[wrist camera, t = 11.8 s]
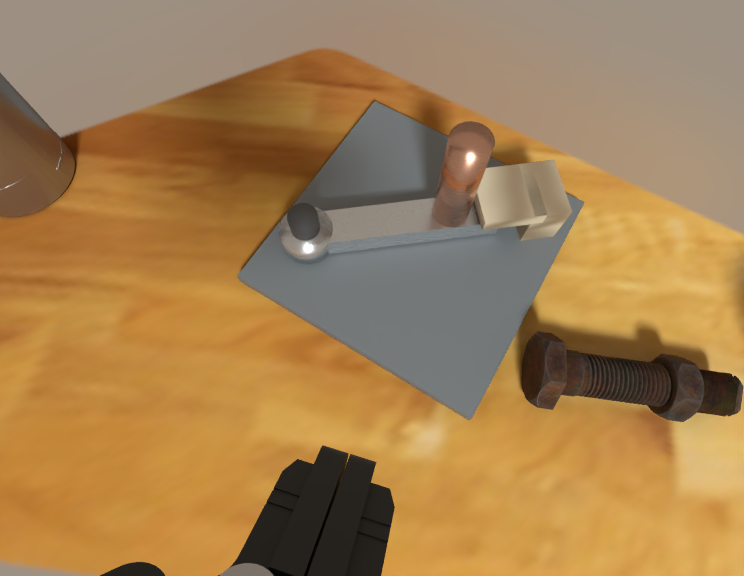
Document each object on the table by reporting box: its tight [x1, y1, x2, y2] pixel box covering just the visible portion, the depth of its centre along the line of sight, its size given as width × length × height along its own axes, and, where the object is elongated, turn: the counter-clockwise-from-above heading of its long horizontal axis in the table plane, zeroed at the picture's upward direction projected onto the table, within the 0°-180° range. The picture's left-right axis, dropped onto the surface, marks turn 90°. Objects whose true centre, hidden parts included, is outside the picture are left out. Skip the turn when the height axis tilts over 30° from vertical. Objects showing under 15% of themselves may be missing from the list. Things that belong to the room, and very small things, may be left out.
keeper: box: [474, 160, 572, 241], centre depth 40 cm, size 7×5×4 cm
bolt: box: [522, 332, 743, 422], centre depth 35 cm, size 6×5×15 cm
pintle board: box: [237, 101, 584, 420], centre depth 39 cm, size 22×22×6 cm
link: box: [279, 122, 498, 264], centre depth 35 cm, size 18×4×11 cm, turn 98°
